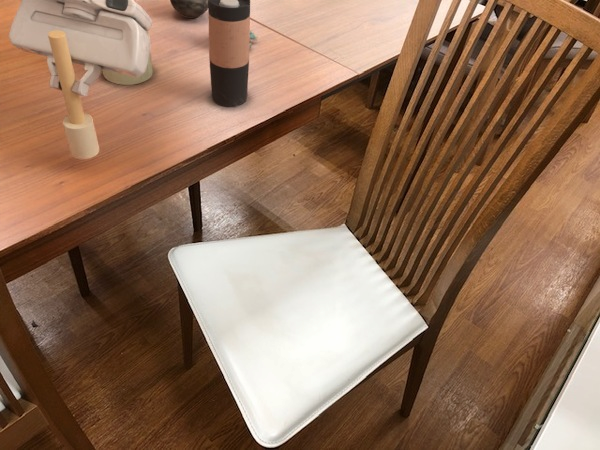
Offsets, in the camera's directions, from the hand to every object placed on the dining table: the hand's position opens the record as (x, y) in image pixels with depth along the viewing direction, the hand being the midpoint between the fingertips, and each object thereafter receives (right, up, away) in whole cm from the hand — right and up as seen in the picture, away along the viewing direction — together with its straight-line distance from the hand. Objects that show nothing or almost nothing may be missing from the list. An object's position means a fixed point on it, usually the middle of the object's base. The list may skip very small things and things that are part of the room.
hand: (67, 91), depth 74 cm
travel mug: (+20, +6, +30) cm, 36 cm away
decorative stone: (+7, +33, +54) cm, 64 cm away
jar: (-2, +13, +32) cm, 35 cm away
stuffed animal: (+18, +23, +46) cm, 54 cm away
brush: (-1, -8, +9) cm, 11 cm away
